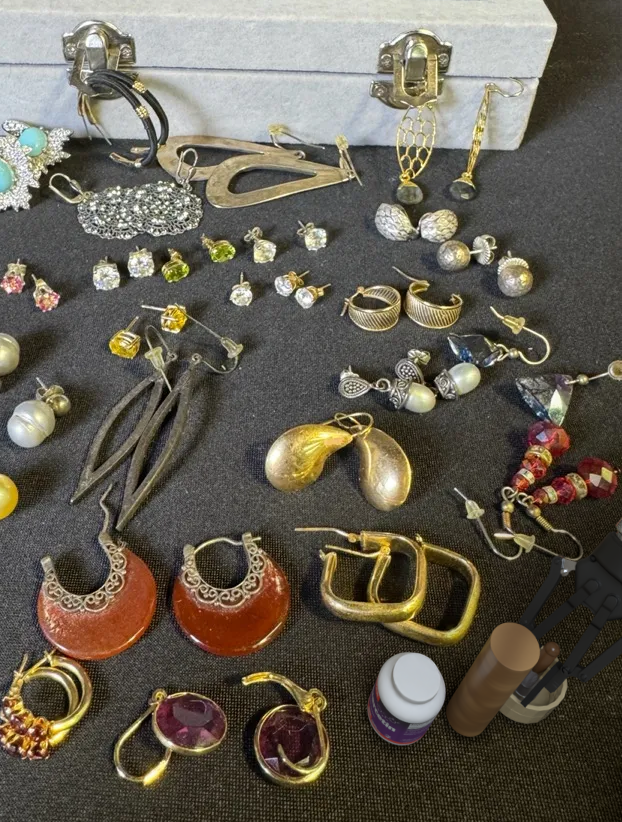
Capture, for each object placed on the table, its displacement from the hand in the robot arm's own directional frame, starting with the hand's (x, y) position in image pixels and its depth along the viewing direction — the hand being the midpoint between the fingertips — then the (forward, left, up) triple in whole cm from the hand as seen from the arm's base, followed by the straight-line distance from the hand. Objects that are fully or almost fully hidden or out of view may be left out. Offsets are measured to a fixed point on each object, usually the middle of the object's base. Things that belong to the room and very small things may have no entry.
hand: (515, 692), depth 99 cm
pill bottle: (+11, +7, -7) cm, 15 cm away
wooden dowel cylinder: (+4, +3, -7) cm, 8 cm away
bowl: (-1, -4, -7) cm, 8 cm away
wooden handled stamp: (-1, -4, -6) cm, 7 cm away
